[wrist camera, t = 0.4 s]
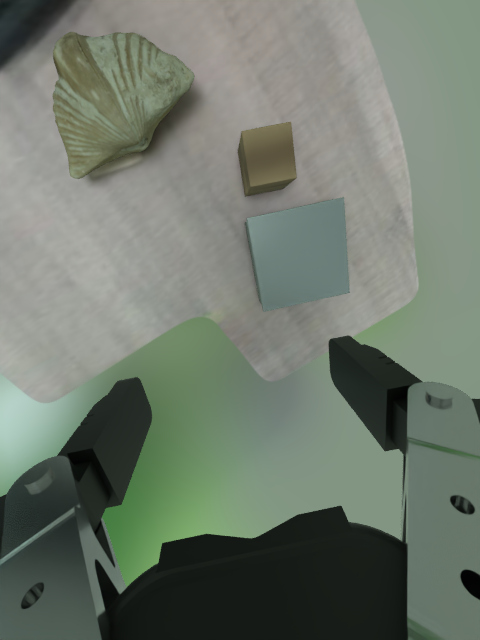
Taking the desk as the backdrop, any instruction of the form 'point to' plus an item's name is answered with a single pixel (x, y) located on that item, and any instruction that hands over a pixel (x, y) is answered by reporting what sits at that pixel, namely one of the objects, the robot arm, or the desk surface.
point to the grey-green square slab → (299, 254)
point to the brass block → (267, 158)
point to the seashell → (112, 95)
